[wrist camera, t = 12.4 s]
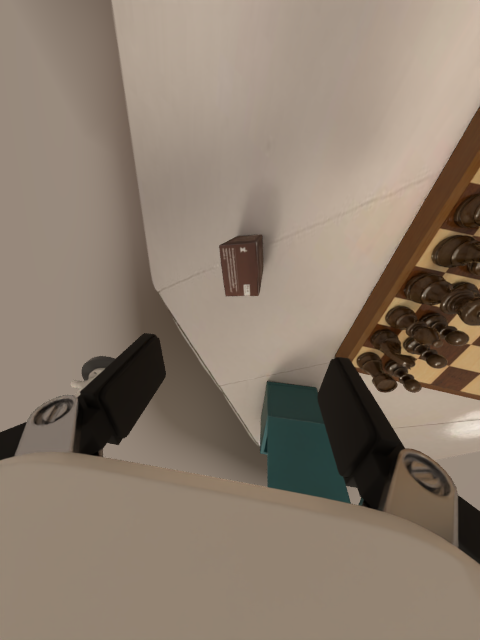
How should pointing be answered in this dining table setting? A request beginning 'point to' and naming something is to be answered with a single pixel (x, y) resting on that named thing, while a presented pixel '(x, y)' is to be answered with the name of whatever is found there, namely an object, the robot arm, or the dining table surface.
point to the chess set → (429, 291)
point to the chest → (288, 406)
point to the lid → (303, 460)
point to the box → (242, 265)
